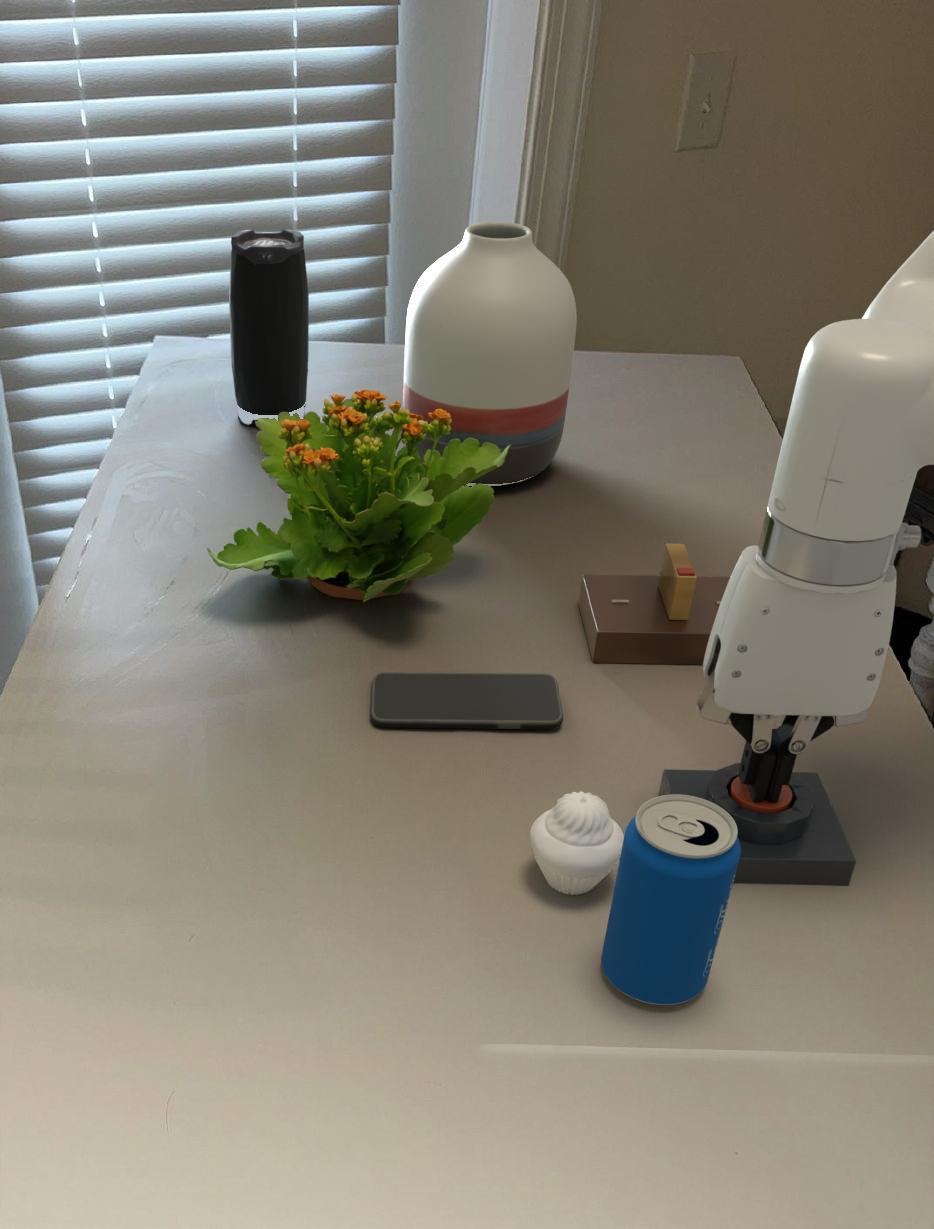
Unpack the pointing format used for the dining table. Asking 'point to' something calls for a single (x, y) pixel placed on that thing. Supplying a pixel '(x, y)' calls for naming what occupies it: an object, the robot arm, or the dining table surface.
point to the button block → (776, 829)
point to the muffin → (576, 843)
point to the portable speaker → (269, 321)
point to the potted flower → (365, 498)
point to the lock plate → (646, 620)
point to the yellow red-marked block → (677, 581)
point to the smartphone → (466, 700)
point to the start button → (744, 799)
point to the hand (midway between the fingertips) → (760, 790)
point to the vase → (493, 348)
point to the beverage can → (670, 898)
